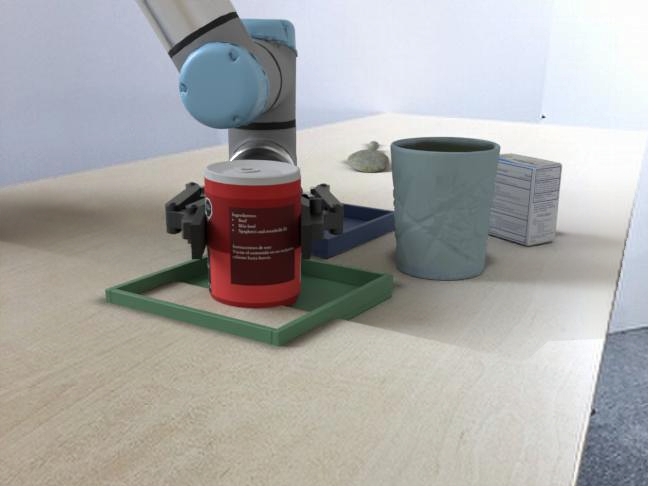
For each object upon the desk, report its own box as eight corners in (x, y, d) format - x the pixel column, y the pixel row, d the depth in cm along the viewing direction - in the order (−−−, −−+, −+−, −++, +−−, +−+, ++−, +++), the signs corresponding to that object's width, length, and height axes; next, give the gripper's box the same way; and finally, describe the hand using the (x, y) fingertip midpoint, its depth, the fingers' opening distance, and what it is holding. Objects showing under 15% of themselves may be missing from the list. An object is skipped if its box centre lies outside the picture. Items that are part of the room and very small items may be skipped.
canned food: (248, 278, 77) (246, 156, 73) (319, 296, 73) (321, 167, 69) (188, 300, 71) (182, 168, 67) (261, 320, 67) (259, 181, 63)
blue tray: (210, 236, 93) (209, 218, 92) (289, 210, 105) (289, 194, 104) (327, 258, 86) (328, 239, 85) (398, 228, 98) (399, 211, 97)
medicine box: (555, 242, 93) (565, 162, 90) (527, 247, 91) (535, 166, 88) (504, 227, 100) (511, 152, 96) (476, 231, 97) (482, 155, 94)
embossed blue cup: (504, 281, 80) (516, 151, 75) (398, 284, 78) (405, 152, 74) (470, 252, 89) (479, 135, 85) (376, 254, 87) (380, 135, 83)
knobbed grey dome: (344, 175, 131) (387, 179, 131) (345, 153, 130) (388, 157, 129) (355, 148, 151) (392, 151, 151) (357, 129, 150) (394, 132, 149)
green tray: (106, 312, 70) (104, 289, 69) (237, 263, 83) (236, 244, 83) (278, 358, 61) (278, 332, 61) (392, 296, 75) (393, 274, 74)
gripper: (360, 220, 89) (383, 288, 67) (160, 220, 87) (119, 289, 66) (362, 147, 86) (386, 194, 65) (155, 146, 85) (111, 193, 63)
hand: (251, 242), depth 65 cm, fingers closed on canned food, 8 cm apart
